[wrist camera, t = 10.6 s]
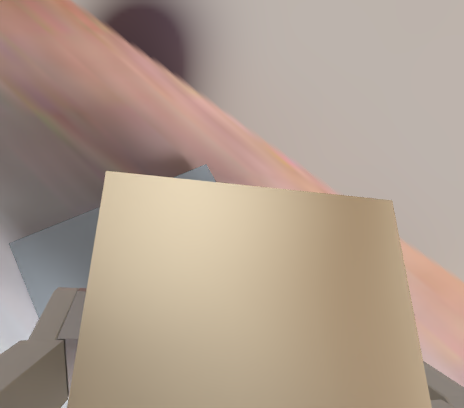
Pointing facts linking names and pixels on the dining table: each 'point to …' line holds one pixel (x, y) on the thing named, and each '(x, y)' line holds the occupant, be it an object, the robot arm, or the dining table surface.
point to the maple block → (245, 301)
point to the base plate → (66, 251)
